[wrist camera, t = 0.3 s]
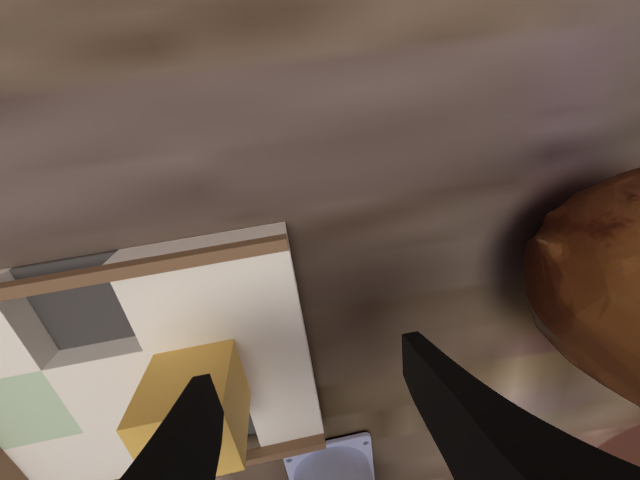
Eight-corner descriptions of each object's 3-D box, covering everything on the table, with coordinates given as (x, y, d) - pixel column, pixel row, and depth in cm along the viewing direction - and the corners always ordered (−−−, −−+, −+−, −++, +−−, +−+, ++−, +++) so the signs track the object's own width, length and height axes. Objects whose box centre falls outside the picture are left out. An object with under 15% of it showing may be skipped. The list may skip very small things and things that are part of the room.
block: (251, 393, 22) (244, 469, 17) (178, 408, 21) (152, 490, 17) (233, 338, 19) (221, 408, 15) (153, 354, 19) (115, 431, 15)
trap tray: (321, 415, 26) (328, 462, 23) (53, 474, 25) (18, 533, 21) (285, 221, 19) (287, 246, 16) (-99, 286, 17) (-192, 330, 14)
